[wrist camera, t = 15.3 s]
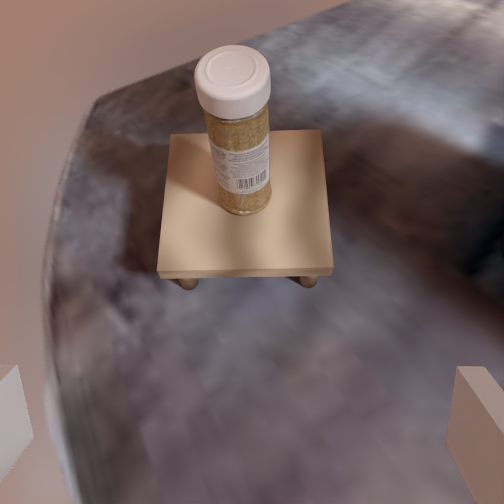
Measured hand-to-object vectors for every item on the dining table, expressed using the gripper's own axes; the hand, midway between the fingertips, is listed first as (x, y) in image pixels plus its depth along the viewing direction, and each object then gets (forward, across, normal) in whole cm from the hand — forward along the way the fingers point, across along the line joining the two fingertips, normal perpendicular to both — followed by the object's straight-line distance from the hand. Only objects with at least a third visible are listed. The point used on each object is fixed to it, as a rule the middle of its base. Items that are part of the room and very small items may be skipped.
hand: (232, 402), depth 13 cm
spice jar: (+26, -1, +1) cm, 27 cm away
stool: (+31, -1, -3) cm, 31 cm away
